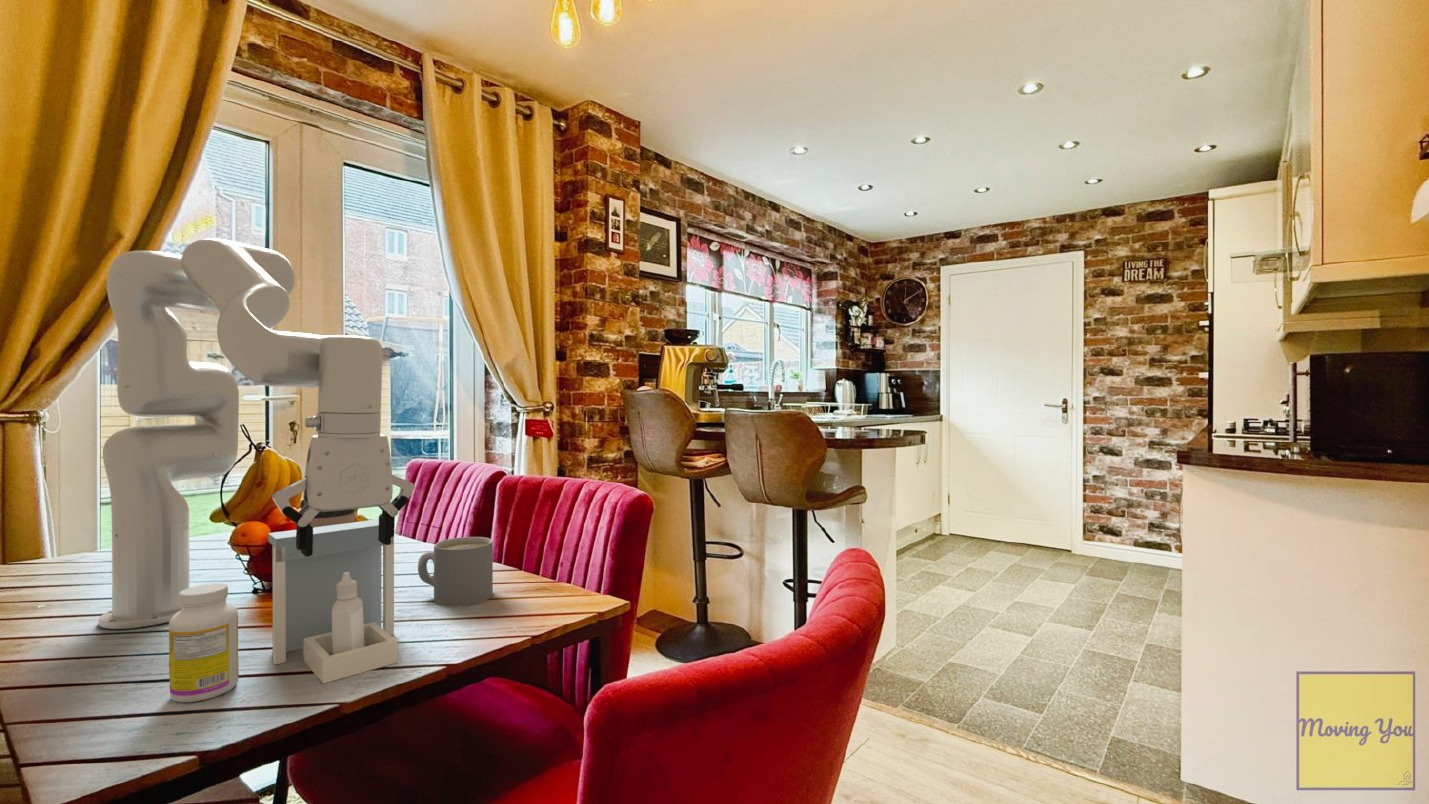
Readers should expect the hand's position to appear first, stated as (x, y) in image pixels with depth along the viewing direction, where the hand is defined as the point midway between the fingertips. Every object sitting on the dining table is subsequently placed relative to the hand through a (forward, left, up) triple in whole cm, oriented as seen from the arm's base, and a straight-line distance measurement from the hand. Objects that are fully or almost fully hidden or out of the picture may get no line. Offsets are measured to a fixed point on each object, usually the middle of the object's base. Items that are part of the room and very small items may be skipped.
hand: (347, 548), depth 86 cm
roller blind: (-8, 0, -16) cm, 17 cm away
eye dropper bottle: (+1, 0, -16) cm, 15 cm away
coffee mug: (-17, +22, -16) cm, 32 cm away
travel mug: (-19, +2, -16) cm, 25 cm away
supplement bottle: (-2, -15, -16) cm, 22 cm away
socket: (+1, 0, -16) cm, 16 cm away
